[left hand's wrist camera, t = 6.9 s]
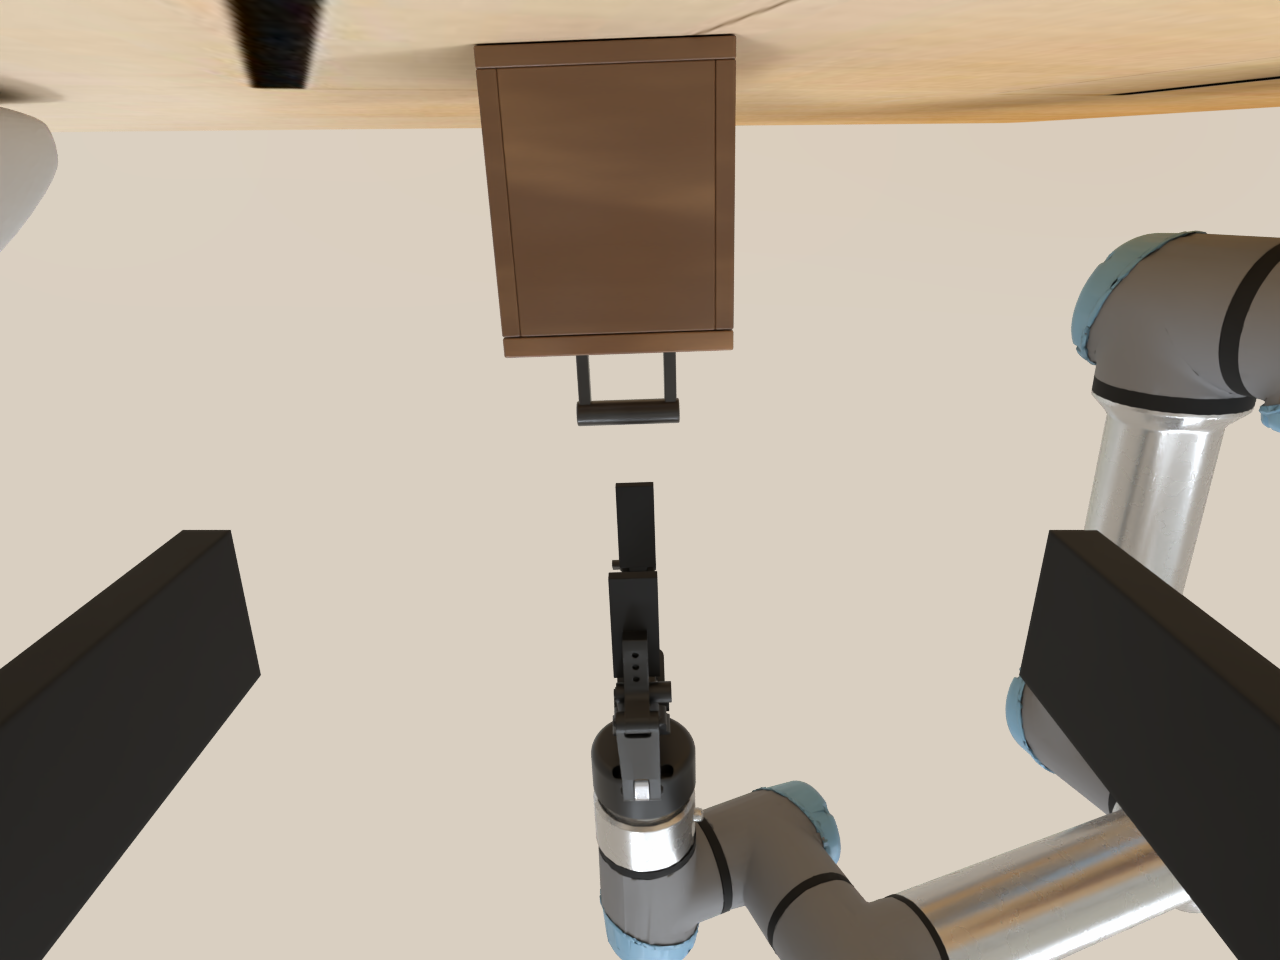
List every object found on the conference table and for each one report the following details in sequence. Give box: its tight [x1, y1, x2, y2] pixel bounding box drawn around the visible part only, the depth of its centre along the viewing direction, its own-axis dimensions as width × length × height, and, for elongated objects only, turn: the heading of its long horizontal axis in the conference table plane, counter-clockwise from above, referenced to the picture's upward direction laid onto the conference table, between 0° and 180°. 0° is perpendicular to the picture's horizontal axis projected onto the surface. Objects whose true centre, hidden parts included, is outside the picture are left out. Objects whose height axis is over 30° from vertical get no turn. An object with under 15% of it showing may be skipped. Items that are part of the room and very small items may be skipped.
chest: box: [474, 36, 736, 337], centre depth 38 cm, size 15×10×11 cm
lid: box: [503, 329, 733, 426], centre depth 41 cm, size 15×10×8 cm, turn 0°
